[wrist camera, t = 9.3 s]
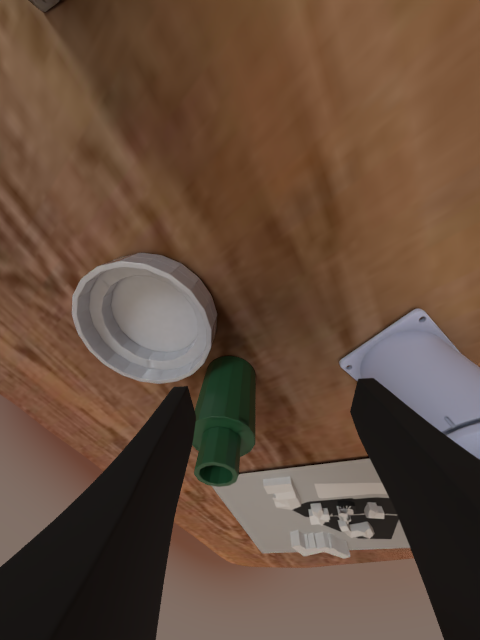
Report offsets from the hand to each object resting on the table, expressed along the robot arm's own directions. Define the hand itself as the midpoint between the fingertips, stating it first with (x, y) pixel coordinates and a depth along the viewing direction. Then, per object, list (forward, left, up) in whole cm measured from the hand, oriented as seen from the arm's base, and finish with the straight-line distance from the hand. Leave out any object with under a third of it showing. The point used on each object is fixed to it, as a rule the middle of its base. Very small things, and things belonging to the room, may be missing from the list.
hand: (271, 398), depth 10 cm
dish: (+6, +7, -10) cm, 14 cm away
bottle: (-3, +8, -10) cm, 14 cm away
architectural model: (-34, +18, -11) cm, 40 cm away
